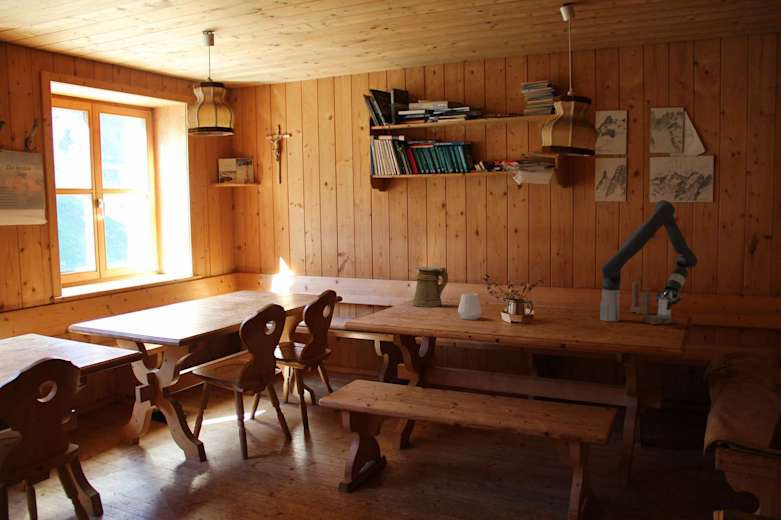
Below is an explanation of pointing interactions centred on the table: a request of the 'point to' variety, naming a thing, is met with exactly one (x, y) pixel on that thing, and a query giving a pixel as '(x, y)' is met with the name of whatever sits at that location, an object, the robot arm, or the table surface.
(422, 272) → the tankard
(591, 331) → the table surface
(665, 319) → the stand
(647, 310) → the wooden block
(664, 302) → the housing
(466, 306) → the cup
